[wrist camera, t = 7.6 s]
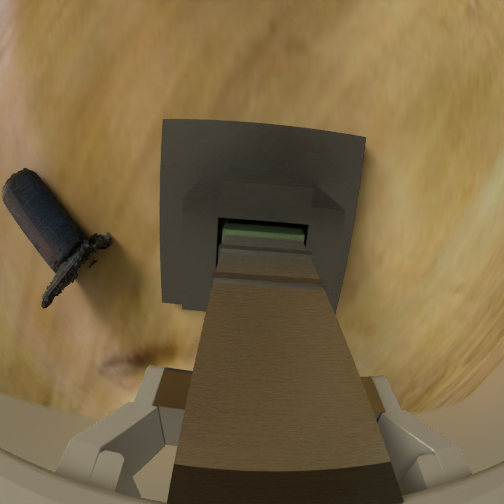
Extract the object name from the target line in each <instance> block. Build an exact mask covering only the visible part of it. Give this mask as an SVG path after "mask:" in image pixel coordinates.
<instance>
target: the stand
mask: <svg viewBox="0 0 504 504" xmlns="http://www.w3.org/2000/svg"><path fill="white" fill-rule="evenodd" d="M365 143H366V137H361V136H355V135H349V134H343V133H337V132H331V131H324V130H317V129H309V128H301V127H293V126H284V125H274V124H263V123H251V122H238V121H220V120H193V119H163V126H162V144H161V170H160V262H161V288H162V302H164V303H174V304H182V309H185V310H196V311H206V310H207V306H208V302H209V297H210V292H211V275H212V271H214V272H216V268H217V264H218V252H219V245H220V244H222V231H223V226H224V223H228V219H229V218H234V219H248V220H260V221H273V222H285V223H295V225H296V227H297V229H302V231H303V233H304V235H305V237H304V245H305V247H306V249H307V251H311V253H312V262H313V265H314V267H315V269H316V272H317V274H318V276H319V278H320V279H324V281H325V283H326V290H325V292H326V295H327V297H328V299H329V302H330V304H331V306H332V309H333V311H334V314H335V313H336V309H337V305H338V301H339V296H340V292H341V287H342V282H343V278H344V273H345V268H346V263H347V258H348V253H349V248H350V242H351V237H352V231H353V226H354V220H355V214H356V208H357V201H358V195H359V188H360V181H361V174H362V167H363V159H364V151H365Z"/></svg>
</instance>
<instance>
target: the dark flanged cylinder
mask: <svg viewBox="0 0 504 504" xmlns="http://www.w3.org/2000/svg"><path fill="white" fill-rule="evenodd" d="M2 194H3V202H4V204H5V205H6V207H7V208H8V210H9V212H10V213H11V214H12V216H13V217H14V219H15V220H16V222H17V223H18V225H19V226H20V227H21V229H22V230H23V232H24V233H25V235H26V236H27V237H28V239H29V240H30V241H31V243H32V244H33V245H34V247H35V248H36V249H37V251H38V252H39V253H40V255H41V256H42V257H43V259H44V260H45V261H46V262H47V264H48V265H49V266H50V268H51V269H52V270H53V271H54V272H55V273H56V276H55V277H54V278H53V281H52V282H50V285H49V287H48V286H47V291H45V293H44V294H43V296H42V299H43V301H42V305H41V306H42V307H43V309H44V308H47V307H48V306H49V305H50V304H51V303H52V301H53V299H54V297H55V296H58V294H60V293H62V291H61V290H64V288H65V287H66V286H68V285H69V284H70V282H72V283H73V282H74V279H76V278H77V276H78V274H77V272H76V270H77V269H78V268H80V267H81V264H83V263H85V261H87V260H88V259H89V258H88V257H89V256H90V254H93V253H92V252H95V253H96V251H97V250H99V249H106V248H108V247H109V246H110V245H111V244H112V242H111V239H109V237H110V236H111V235H110V234H109V233H107V234H106V235H105V236H104V235H101V234H99V235H97V233H96V234H94V236H93V235H92V236H91V237H90V238H91V239H89V240H88V241H87V240H86V239H85V240H84V236H83V234H82V232H81V231H80V230H79V229H78V227H77V226H75V224H74V223H73V222H72V221H71V219H70V217H69V216H68V215H67V214H66V213H65V211H64V210H63V209H62V208H61V206H60V205H59V204H58V202H57V201H56V200H55V198H54V197H53V196H52V194H51V193H50V192H49V190H48V189H47V187H46V186H45V185H44V183H43V182H42V181H41V179H40V178H39V176H38V175H37V174H36V173H35V172H34V171H32V170H29V169H27V168H24V170H21V171H18V172H17V173H16V174H13V175H11V178H9V179H8V180H7V181H6V183H5V186H4V187H3V191H2ZM109 235H110V236H109ZM83 240H84V241H83ZM102 246H105V247H102ZM98 254H99V253H98ZM96 262H97V261H96V260H93V262H92V263H91V265H90V266H89V268H90V267H91V266H92V265H93V264H95V263H96ZM76 274H77V275H76Z"/></svg>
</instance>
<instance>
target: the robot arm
mask: <svg viewBox="0 0 504 504" xmlns="http://www.w3.org/2000/svg"><path fill="white" fill-rule="evenodd" d="M192 373H193V371H187V370H180V369H173V368H167V367H166V368H164V367H158V366H152V365H149V366H148V368H147V369H146V372H145V374H144V377H143V379H142V382H141V385H140V387H139V390H138V393H137V395H136V398H135V401H134V403H133V402H128V403H127V404H125V405H123V406H122V407H120V408H119V409H117V410H116V411H114V412H113V413H111V414H109V415H108V416H106V417H105V418H103V419H102V420H100V421H98V422H97V423H95V424H94V425H92V426H90V427H89V428H87V429H86V430H84V431H82V432H81V433H79V434H78V435H76V436H74V437H72V438H71V439H70V441H69V444H68V445H67V448H66V450H65V452H64V454H63V457H62V458H61V461H60V463H59V466H58V467H57V470H56V472H53V471H50V470H47V469H45V468H43V467H40V466H38V465H36V464H33V463H31V462H29V461H26V460H24V459H22V458H20V457H18V456H16V455H13V454H12V453H10V452H7V451H5V450H3V449H1V448H0V504H167V503H166V502H161V501H155V500H150V499H145V498H141V495H140V493H139V491H138V489H137V487H136V484H135V482H134V480H133V476H134V475H135V474H136V473H137V472H138V471H139V470H140V469H141V468H142V467H143V466H145V465H146V464H147V463H148V462H149V461H150V460H151V459H152V458H153V457H154V456H155V455H156V454H157V453H158V452H159V451H160V450H161V449H162V448H163V447H165V445H173V446H178V441H179V436H180V431H181V426H182V421H183V416H184V411H185V406H186V401H187V397H188V392H189V387H190V382H191V378H192ZM360 378H361V381H362V383H363V386H364V389H365V391H366V394H367V397H368V399H369V402H370V405H371V407H372V410H373V413H374V415H375V418H376V421H377V424H378V426H379V429H380V432H381V435H382V438H383V440H384V443H385V446H386V449H387V452H388V455H389V458H390V461H391V464H392V467H393V470H394V473H395V476H396V479H397V482H398V485H399V488H400V491H401V494H402V497H403V500H404V502H403V503H402V504H504V461H503V462H501V463H498V464H496V465H494V466H491V467H489V468H487V469H484V470H482V471H479V472H477V473H474V474H472V473H471V471H470V469H469V467H468V465H467V462H466V461H465V458H464V456H463V454H462V452H461V450H460V448H459V446H458V445H456V444H455V443H454V442H452V441H451V440H449V439H447V438H446V437H445V436H443V435H442V434H440V433H439V432H437V431H436V430H434V429H433V428H431V427H429V426H428V425H427V424H425V423H424V422H422V421H420V420H419V419H418V418H416V417H415V416H413V415H412V414H410V413H409V412H408V411H406V410H404V411H402V410H401V408H400V406H399V403H398V401H397V399H396V397H395V395H394V393H393V391H392V389H391V386H390V384H389V382H388V380H387V378H386V377H385V376H384V375H383V376H369V377H360Z"/></svg>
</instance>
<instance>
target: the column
mask: <svg viewBox="0 0 504 504" xmlns="http://www.w3.org/2000/svg"><path fill="white" fill-rule="evenodd" d="M304 237H305V235H304V233H303V231H302V229H297V227H296V225H295V223H285V222H273V221H260V220H248V219H234V218H229V219H228V223H224V226H223V231H222V244H220V245H219V252H218V264H217V268H216V272H214V271H212V275H211V292H210V297H209V302H208V306H207V310H206V315H205V319H204V323H203V328H202V332H201V337H200V341H199V346H198V350H197V355H196V359H195V364H194V368H193V373H192V378H191V382H190V387H189V392H188V397H187V401H186V406H185V411H184V416H183V421H182V426H181V431H180V436H179V441H178V446H177V451H176V457H175V462H174V467H173V472H172V478H171V483H170V489H169V494H168V500H167V504H402V503H403V502H404V500H403V497H402V494H401V491H400V488H399V485H398V482H397V479H396V476H395V473H394V470H393V467H392V464H391V461H390V458H389V455H388V452H387V449H386V446H385V443H384V440H383V438H382V435H381V432H380V429H379V426H378V424H377V421H376V418H375V415H374V413H373V410H372V407H371V405H370V402H369V399H368V397H367V394H366V391H365V389H364V386H363V383H362V381H361V378H360V376H359V373H358V370H357V368H356V365H355V363H354V360H353V358H352V355H351V353H350V350H349V348H348V345H347V343H346V340H345V338H344V335H343V333H342V330H341V328H340V326H339V323H338V321H337V318H336V316H335V314H334V311H333V309H332V306H331V304H330V302H329V299H328V297H327V295H326V292H325V290H326V283H325V281H324V279H320V278H319V276H318V274H317V272H316V269H315V267H314V265H313V262H312V253H311V251H307V249H306V247H305V245H304Z"/></svg>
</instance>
